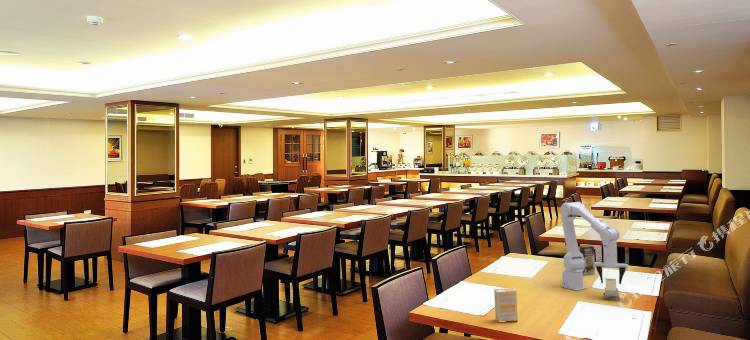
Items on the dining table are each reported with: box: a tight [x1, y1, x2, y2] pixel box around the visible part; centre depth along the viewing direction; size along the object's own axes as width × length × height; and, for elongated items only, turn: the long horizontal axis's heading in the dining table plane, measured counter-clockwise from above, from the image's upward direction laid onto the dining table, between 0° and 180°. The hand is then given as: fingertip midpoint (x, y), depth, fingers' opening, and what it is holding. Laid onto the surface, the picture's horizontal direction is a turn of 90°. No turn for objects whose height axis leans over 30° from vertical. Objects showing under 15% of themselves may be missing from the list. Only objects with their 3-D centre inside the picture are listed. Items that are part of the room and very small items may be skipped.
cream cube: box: [605, 277, 617, 291], centre depth 230 cm, size 4×4×4 cm
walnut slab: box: [602, 291, 621, 302], centre depth 230 cm, size 6×6×2 cm
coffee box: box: [573, 244, 596, 276], centre depth 279 cm, size 9×6×16 cm
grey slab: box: [604, 286, 620, 297], centre depth 230 cm, size 6×6×2 cm
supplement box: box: [493, 287, 518, 322], centre depth 204 cm, size 8×5×13 cm, turn 92°
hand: (611, 283), depth 230 cm, fingers open, 7 cm apart
